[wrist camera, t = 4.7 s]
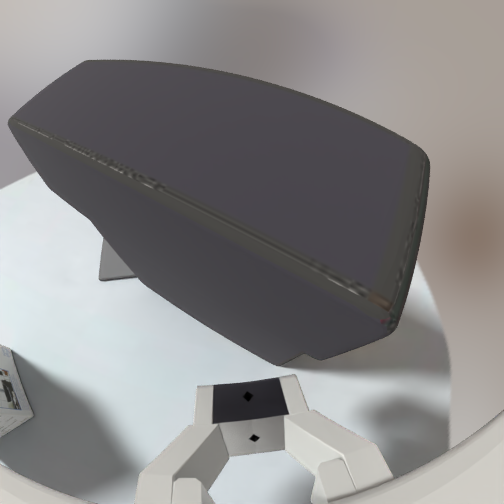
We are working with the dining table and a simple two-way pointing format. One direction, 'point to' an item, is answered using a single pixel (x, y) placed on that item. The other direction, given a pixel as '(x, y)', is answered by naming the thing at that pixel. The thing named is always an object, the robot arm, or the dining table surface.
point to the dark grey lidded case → (238, 199)
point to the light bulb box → (11, 395)
